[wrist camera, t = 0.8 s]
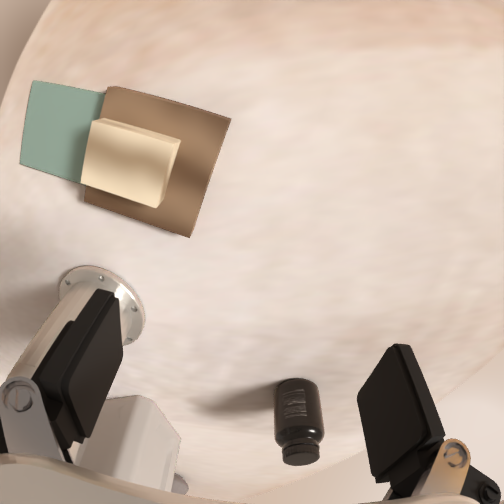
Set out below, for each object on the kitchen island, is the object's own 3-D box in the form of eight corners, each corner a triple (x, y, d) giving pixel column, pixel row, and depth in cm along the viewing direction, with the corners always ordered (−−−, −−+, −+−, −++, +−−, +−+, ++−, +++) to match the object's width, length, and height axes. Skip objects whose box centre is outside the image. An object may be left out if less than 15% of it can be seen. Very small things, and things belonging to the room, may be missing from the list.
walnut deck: (193, 229, 33) (189, 238, 31) (92, 194, 32) (83, 201, 30) (231, 118, 28) (229, 120, 26) (116, 86, 26) (107, 86, 24)
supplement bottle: (267, 399, 46) (266, 466, 36) (283, 373, 43) (286, 446, 33) (307, 406, 47) (312, 470, 36) (326, 381, 44) (337, 450, 33)
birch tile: (163, 199, 30) (155, 208, 27) (92, 175, 28) (80, 182, 26) (181, 139, 27) (173, 144, 25) (104, 117, 26) (92, 120, 24)
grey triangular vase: (199, 417, 50) (176, 566, 25) (175, 445, 56) (153, 564, 31) (95, 374, 46) (37, 518, 21) (88, 411, 53) (46, 526, 28)
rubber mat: (91, 185, 31) (89, 186, 31) (21, 162, 30) (19, 163, 29) (111, 95, 27) (109, 95, 26) (35, 80, 25) (32, 80, 25)
